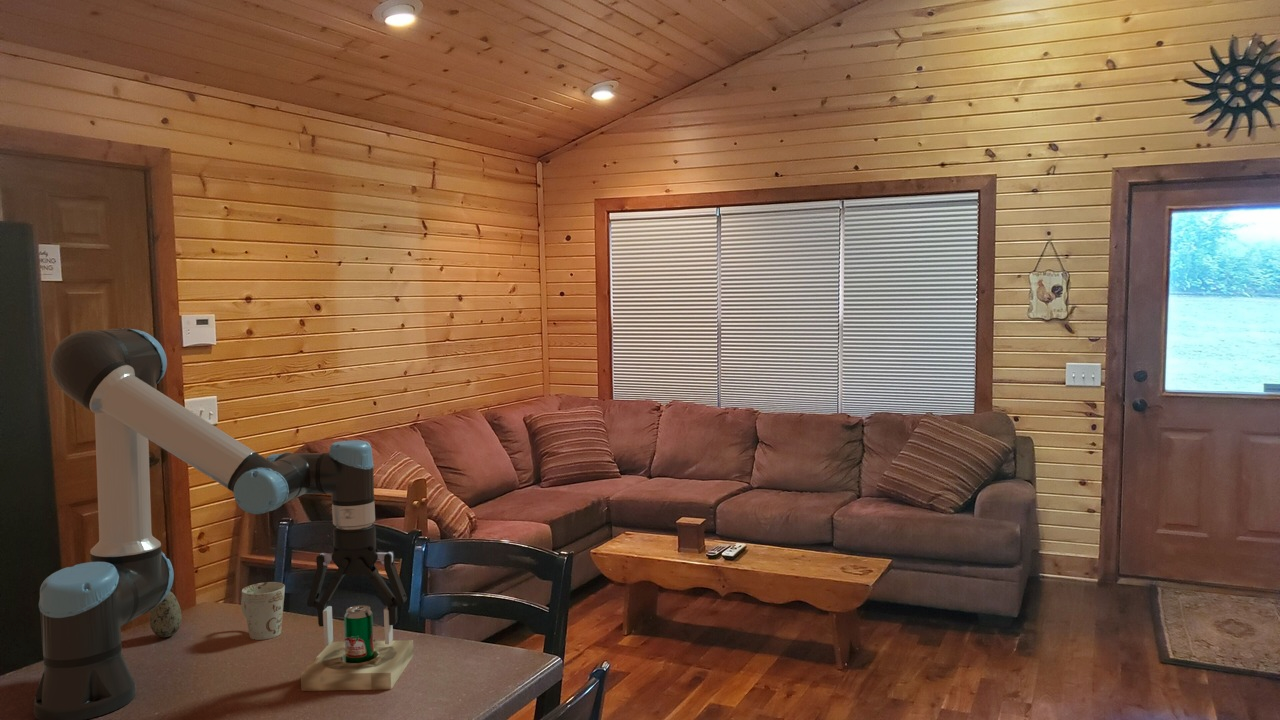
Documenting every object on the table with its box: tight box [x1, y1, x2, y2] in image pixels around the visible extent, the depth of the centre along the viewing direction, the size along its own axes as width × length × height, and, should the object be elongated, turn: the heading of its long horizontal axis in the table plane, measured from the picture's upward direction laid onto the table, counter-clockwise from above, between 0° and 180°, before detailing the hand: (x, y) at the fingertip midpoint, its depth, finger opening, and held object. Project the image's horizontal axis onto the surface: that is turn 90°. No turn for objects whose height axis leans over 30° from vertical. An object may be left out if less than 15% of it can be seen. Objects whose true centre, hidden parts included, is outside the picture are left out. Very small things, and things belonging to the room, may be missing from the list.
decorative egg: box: [149, 590, 183, 638], centre depth 194 cm, size 6×6×10 cm
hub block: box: [300, 639, 415, 692], centre depth 173 cm, size 16×16×3 cm
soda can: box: [343, 604, 374, 663], centre depth 173 cm, size 5×5×12 cm
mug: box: [240, 581, 286, 641], centre depth 195 cm, size 8×13×10 cm, turn 57°
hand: (358, 642), depth 173 cm, fingers open, 10 cm apart
